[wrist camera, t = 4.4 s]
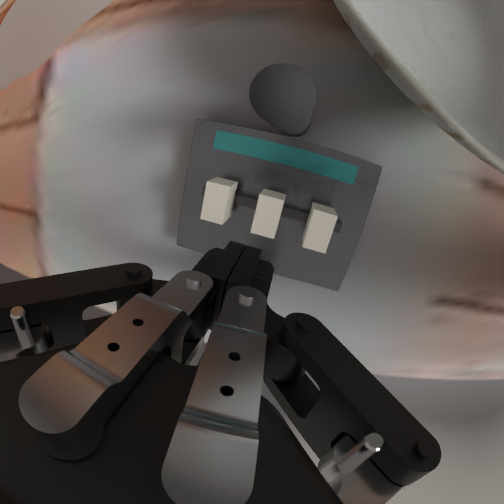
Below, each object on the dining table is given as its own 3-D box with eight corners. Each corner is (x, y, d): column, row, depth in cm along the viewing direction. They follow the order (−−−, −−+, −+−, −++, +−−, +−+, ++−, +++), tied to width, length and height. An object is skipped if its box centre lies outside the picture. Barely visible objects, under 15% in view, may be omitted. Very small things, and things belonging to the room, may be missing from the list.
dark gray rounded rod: (312, 112, 21) (323, 72, 9) (305, 139, 22) (308, 132, 10) (283, 105, 22) (257, 58, 9) (276, 132, 23) (242, 117, 10)
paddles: (334, 208, 21) (337, 216, 19) (323, 242, 22) (325, 253, 20) (217, 176, 22) (206, 181, 20) (210, 211, 23) (200, 218, 21)
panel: (376, 164, 22) (385, 167, 19) (336, 281, 27) (338, 295, 24) (205, 120, 23) (193, 118, 21) (184, 238, 28) (173, 247, 26)
